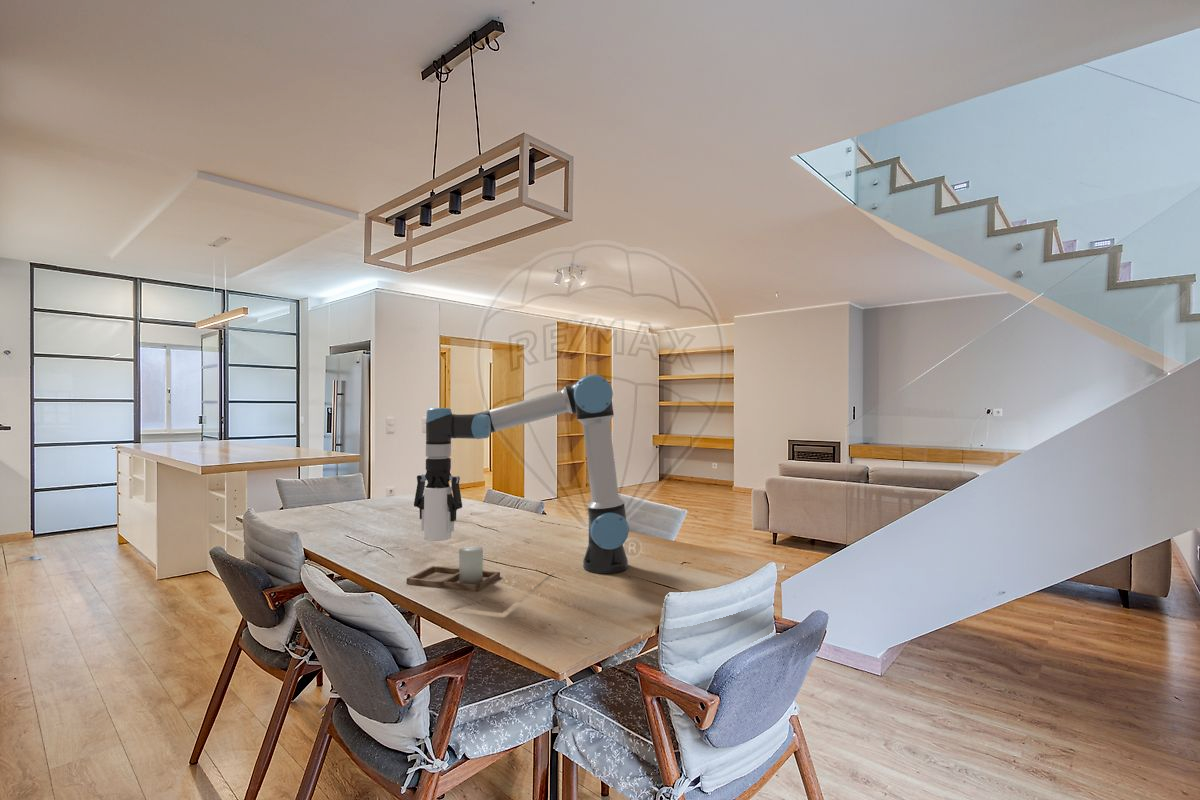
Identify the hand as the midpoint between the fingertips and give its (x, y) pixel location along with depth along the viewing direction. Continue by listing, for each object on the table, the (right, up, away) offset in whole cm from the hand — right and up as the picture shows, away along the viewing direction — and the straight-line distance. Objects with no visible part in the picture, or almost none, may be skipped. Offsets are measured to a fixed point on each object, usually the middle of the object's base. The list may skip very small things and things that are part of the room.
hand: (437, 530), depth 175 cm
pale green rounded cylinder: (+11, -15, -3) cm, 19 cm away
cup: (0, -2, 0) cm, 2 cm away
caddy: (+6, -16, -2) cm, 17 cm away
